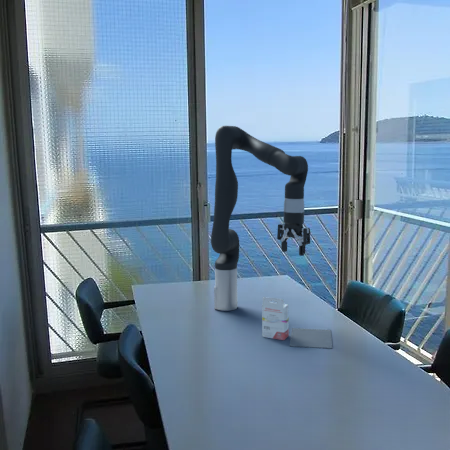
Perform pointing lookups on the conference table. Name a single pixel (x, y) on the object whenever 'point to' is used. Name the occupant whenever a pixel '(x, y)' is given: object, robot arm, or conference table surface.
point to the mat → (311, 338)
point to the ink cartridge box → (275, 318)
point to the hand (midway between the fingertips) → (293, 253)
